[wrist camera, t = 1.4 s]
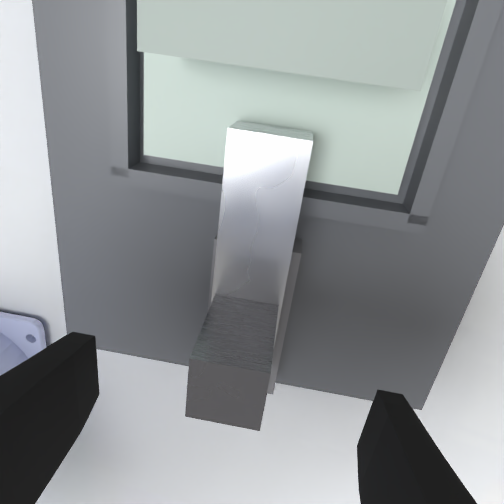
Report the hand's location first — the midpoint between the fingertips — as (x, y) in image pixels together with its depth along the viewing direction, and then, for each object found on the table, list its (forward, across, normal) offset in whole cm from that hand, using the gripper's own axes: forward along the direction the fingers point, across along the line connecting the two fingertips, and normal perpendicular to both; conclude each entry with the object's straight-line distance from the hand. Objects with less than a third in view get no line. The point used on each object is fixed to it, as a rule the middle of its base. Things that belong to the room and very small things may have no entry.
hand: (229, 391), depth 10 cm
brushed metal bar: (+4, 0, -1) cm, 5 cm away
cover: (+6, 0, -8) cm, 10 cm away
